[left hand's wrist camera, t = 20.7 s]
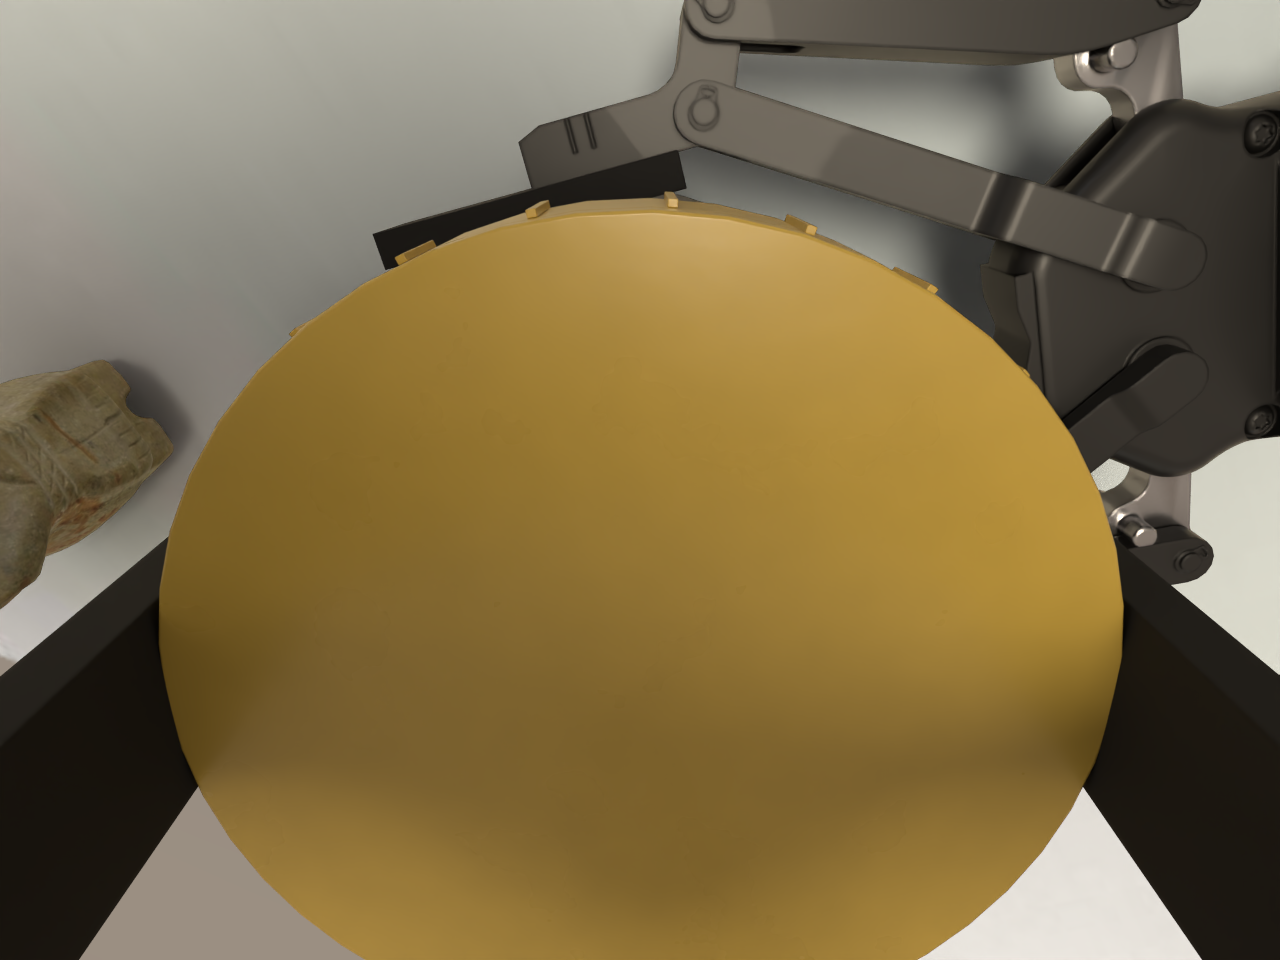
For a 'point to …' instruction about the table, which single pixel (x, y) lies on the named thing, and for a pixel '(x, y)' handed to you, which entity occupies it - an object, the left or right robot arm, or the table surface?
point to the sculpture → (66, 463)
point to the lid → (640, 601)
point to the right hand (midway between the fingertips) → (473, 467)
